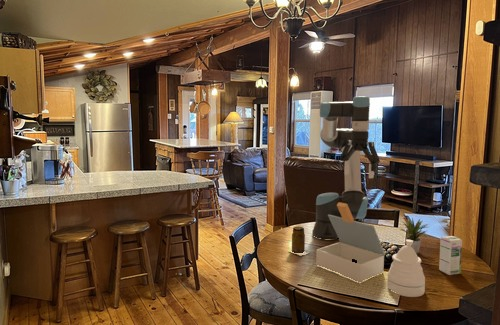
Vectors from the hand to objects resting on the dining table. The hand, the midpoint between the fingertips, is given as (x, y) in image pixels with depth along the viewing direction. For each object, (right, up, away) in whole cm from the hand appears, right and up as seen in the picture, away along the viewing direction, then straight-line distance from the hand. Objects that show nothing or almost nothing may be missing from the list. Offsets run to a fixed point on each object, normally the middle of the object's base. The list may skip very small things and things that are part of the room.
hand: (358, 176), depth 173 cm
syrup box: (+32, -39, -20) cm, 54 cm away
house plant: (+27, -37, +3) cm, 45 cm away
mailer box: (-9, -39, -18) cm, 43 cm away
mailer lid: (-9, -21, -19) cm, 30 cm away
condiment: (-27, -37, +2) cm, 46 cm away
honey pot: (+7, -41, -35) cm, 54 cm away
